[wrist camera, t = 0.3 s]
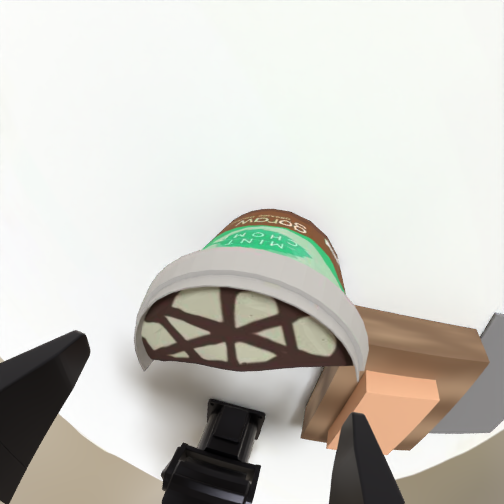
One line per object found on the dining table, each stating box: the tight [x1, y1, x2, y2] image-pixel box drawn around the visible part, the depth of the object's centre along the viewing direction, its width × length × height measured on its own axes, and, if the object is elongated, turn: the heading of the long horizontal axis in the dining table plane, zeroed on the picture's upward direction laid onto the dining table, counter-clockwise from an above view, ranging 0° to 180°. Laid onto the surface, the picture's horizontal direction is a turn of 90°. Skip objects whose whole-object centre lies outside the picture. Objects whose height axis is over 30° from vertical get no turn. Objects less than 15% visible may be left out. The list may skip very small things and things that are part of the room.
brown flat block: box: [301, 305, 490, 450], centre depth 23 cm, size 14×12×4 cm
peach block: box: [326, 370, 440, 455], centre depth 21 cm, size 9×6×2 cm, turn 172°
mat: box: [429, 313, 504, 434], centre depth 23 cm, size 18×14×1 cm
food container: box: [134, 209, 369, 382], centre depth 17 cm, size 12×6×10 cm, turn 102°
